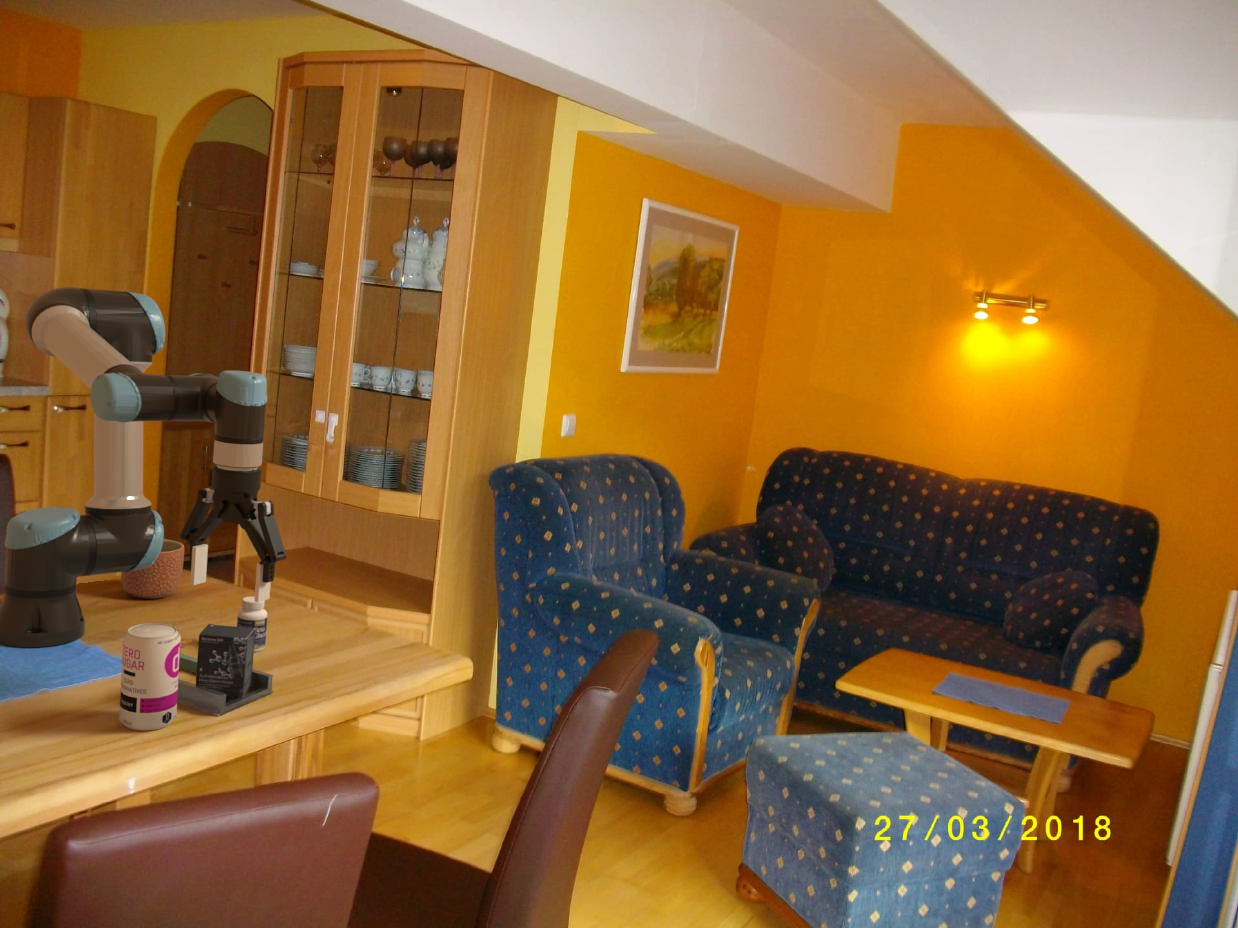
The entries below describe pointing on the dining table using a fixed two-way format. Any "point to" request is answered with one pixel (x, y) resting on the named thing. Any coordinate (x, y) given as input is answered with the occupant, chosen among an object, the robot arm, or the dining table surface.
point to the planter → (157, 574)
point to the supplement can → (149, 676)
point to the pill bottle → (254, 620)
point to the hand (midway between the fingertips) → (229, 591)
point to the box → (225, 659)
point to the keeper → (223, 695)
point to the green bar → (188, 663)
